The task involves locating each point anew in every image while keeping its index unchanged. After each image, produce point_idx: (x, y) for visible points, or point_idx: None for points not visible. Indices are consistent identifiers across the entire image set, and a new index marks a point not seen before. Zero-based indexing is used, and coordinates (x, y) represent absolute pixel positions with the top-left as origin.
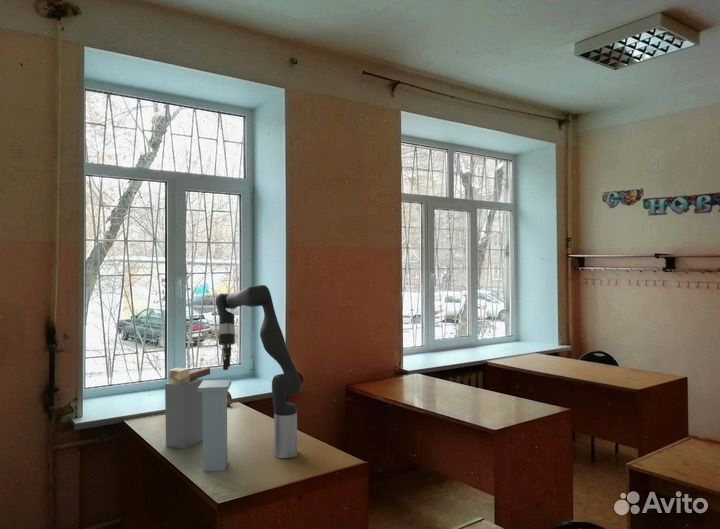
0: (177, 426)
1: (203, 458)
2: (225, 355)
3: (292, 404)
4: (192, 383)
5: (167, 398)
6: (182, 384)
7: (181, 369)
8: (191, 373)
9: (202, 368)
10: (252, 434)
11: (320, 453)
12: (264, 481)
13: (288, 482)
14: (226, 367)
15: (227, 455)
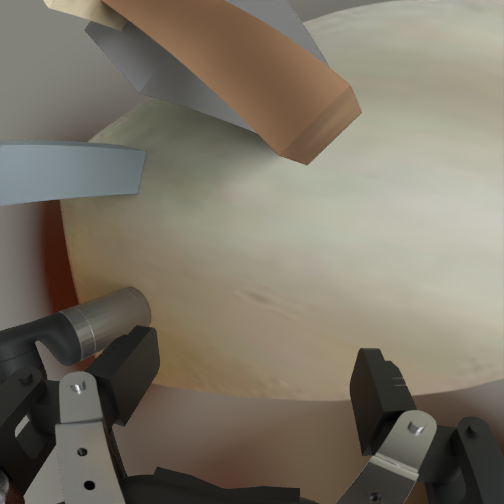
0: None
1: (98, 143)
2: (19, 369)
3: (52, 353)
4: (107, 53)
5: None
6: None
7: None
8: (117, 10)
9: (272, 53)
10: (276, 303)
11: None
12: (75, 233)
13: (70, 262)
14: (357, 391)
15: (127, 193)
